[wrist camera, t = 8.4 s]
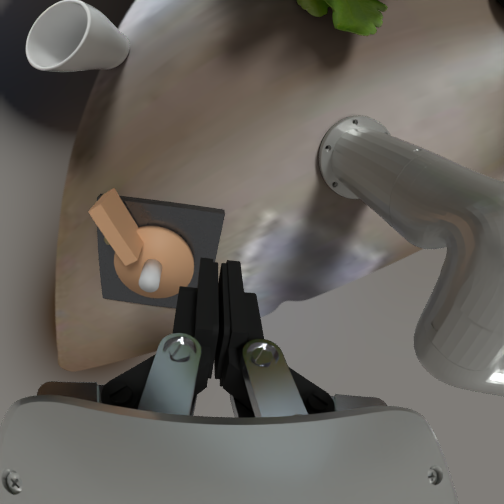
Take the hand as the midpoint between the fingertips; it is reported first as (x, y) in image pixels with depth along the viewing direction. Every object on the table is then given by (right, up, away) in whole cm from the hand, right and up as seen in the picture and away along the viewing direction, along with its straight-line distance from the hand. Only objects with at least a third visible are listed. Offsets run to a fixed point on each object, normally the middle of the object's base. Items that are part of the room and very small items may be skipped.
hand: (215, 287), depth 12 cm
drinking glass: (-16, +27, +13) cm, 34 cm away
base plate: (-13, +1, +29) cm, 32 cm away
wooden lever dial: (-14, +2, +26) cm, 29 cm away
